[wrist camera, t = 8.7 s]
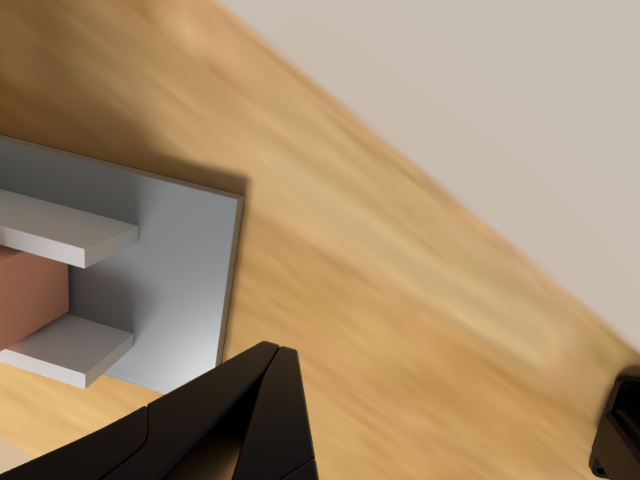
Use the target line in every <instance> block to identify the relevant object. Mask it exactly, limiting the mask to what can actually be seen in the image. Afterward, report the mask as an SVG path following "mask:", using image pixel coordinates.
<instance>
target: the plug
mask: <svg viewBox="0 0 640 480" xmlns="http://www.w3.org/2000/svg"><path fill="white" fill-rule="evenodd" d="M68 311H69V291H68V264H67V263H64V262H60V261H56V260H53V259H49V258H46V257H42V256H39V255H35V254H32V253H28V252H25V251H21V250H18V249H14V248H11V247H7V246H4V245H0V352H1V351H3V350H4V349H6V348H8V347H9V346H11V345H13V344H14V343H16V342H18V341H19V340H21V339H23V338H24V337H26V336H28V335H29V334H31V333H33V332H34V331H36V330H38V329H39V328H41V327H43V326H44V325H46V324H48V323H49V322H51V321H53V320H54V319H56V318H58V317H59V316H61V315H63V314H64V313H66V312H68Z"/></svg>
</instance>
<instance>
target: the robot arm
mask: <svg viewBox="0 0 640 480" xmlns="http://www.w3.org/2000/svg"><path fill="white" fill-rule="evenodd" d="M627 385H630V386H629V387H627V388H625V386H627ZM592 450H593V451H592V454H591V457H590V460H589V467H590V469H591V471H592V473H593V474H594V475H595V476H597V477H600V478H606V479H610V480H640V377H636V376H621V377H619V378H618V379H617V380H616V381H615V384H614V387H613V390H612V393H611V396H610V399H609V402H608V405H607V408H606V411H605V412H604V413H603V415H602V418H601V421H600V424H599V427H598V430H597V434H596V437H595V440H594V443H593V446H592ZM600 467H601V468H600ZM231 478H232V479H231ZM0 480H319V477H318V471H317V465H316V461H315V454H314V448H313V442H312V436H311V430H310V424H309V418H308V412H307V406H306V400H305V394H304V388H303V381H302V375H301V369H300V363H299V357H298V352H297V350H295V349H292V348H288V347H285V346H281V347H279V345H278V344H274V343H271V342H268V341H262V342H260V343H258V344H256V345H255V346H253V347H251V348H249V349H247V350H246V351H244V352H242V353H240V354H238V355H236V356H235V357H233V358H231V359H229V360H227V361H226V362H224V363H222V364H220V365H218V366H216V367H215V368H213V369H211V370H209V371H207V372H206V373H204V374H202V375H200V376H198V377H196V378H195V379H193V380H191V381H189V382H187V383H185V384H184V385H182V386H180V387H178V388H176V389H175V390H173V391H171V392H169V393H167V394H165V395H164V396H162V397H160V398H158V399H156V400H155V401H153V402H151V403H149V404H148V405H147V407H146V406H143V407H141V408H140V409H138V410H136V411H134V412H132V413H131V414H129V415H127V416H125V417H123V418H121V419H119V420H117V421H115V422H113V423H111V424H109V425H108V426H106V427H104V428H102V429H100V430H97V431H95V432H93V433H91V434H89V435H87V436H85V437H82V438H80V439H78V440H76V441H74V442H72V443H70V444H67V445H65V446H63V447H60V448H58V449H56V450H54V451H51V452H49V453H47V454H45V455H42V456H40V457H38V458H36V459H33V460H31V461H29V462H27V463H24V464H22V465H20V466H18V467H16V468H13V469H11V470H9V471H6V472H4V473H2V474H0Z"/></svg>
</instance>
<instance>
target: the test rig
mask: <svg viewBox="0 0 640 480" xmlns="http://www.w3.org/2000/svg"><path fill="white" fill-rule="evenodd" d="M244 197H245V196H243V195H239V194H235V193H231V192H227V191H223V190H219V189H215V188H211V187H207V186H203V185H199V184H195V183H191V182H187V181H183V180H179V179H175V178H171V177H167V176H163V175H159V174H155V173H151V172H147V171H143V170H139V169H135V168H131V167H127V166H123V165H119V164H115V163H111V162H107V161H103V160H99V159H95V158H91V157H87V156H83V155H79V154H75V153H71V152H67V151H63V150H59V149H55V148H51V147H47V146H43V145H39V144H35V143H31V142H27V141H23V140H19V139H15V138H11V137H7V136H3V135H0V245H4V246H7V247H11V248H14V249H18V250H21V251H25V252H28V253H32V254H35V255H39V256H42V257H46V258H49V259H53V260H56V261H60V262H64V263H67V264H68V291H69V311H68V312H66V313H64V314H63V315H61V316H59V317H58V318H56V319H54V320H53V321H51V322H49V323H48V324H46V325H44V326H43V327H41V328H39V329H38V330H36V331H34V332H33V333H31V334H29V335H28V336H26V337H24V338H23V339H21V340H19V341H18V342H16V343H14V344H13V345H11V346H9V347H8V348H6V349H4V350H3V351H1V352H0V362H2V363H5V364H8V365H11V366H14V367H17V368H20V369H24V370H27V371H30V372H33V373H36V374H39V375H42V376H45V377H48V378H52V379H55V380H58V381H61V382H64V383H67V384H70V385H73V386H76V387H80V388H83V389H86V388H87V387H89V386H90V385H91V384H92V383H93V382H94V381H95V380H96V379H98V378H99V377H100V376H101V375H102V374H103V375H106V376H109V377H112V378H115V379H119V380H122V381H125V382H128V383H131V384H134V385H138V386H141V387H144V388H147V389H150V390H153V391H157V392H160V393H163V394H167V393H169V392H171V391H173V390H175V389H176V388H178V387H180V386H182V385H184V384H185V383H187V382H189V381H191V380H193V379H195V378H196V377H198V376H200V375H202V374H204V373H206V372H207V371H209V370H211V369H213V368H215V367H216V366H218V365H220V364H221V360H222V353H223V346H224V339H225V332H226V325H227V318H228V311H229V304H230V297H231V289H232V282H233V275H234V268H235V261H236V254H237V247H238V240H239V233H240V226H241V219H242V211H243V204H244Z"/></svg>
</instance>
